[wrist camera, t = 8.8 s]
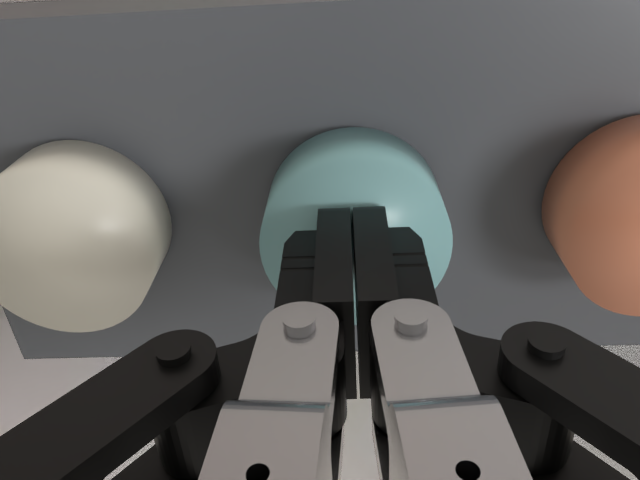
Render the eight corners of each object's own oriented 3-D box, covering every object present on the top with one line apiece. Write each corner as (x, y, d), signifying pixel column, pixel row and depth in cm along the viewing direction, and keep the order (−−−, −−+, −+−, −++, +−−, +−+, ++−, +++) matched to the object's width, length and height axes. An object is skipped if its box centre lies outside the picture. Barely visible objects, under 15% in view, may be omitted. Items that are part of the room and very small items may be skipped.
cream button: (153, 135, 14) (127, 169, 12) (185, 284, 16) (166, 330, 14) (-22, 143, 14) (-72, 176, 12) (33, 289, 16) (-3, 334, 15)
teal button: (444, 123, 14) (459, 154, 12) (435, 276, 16) (446, 322, 14) (259, 130, 14) (248, 163, 12) (276, 281, 16) (269, 327, 14)
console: (761, -41, 14) (853, -28, 12) (663, 284, 20) (713, 343, 17) (-40, 5, 16) (-116, 26, 13) (63, 301, 21) (24, 358, 18)
